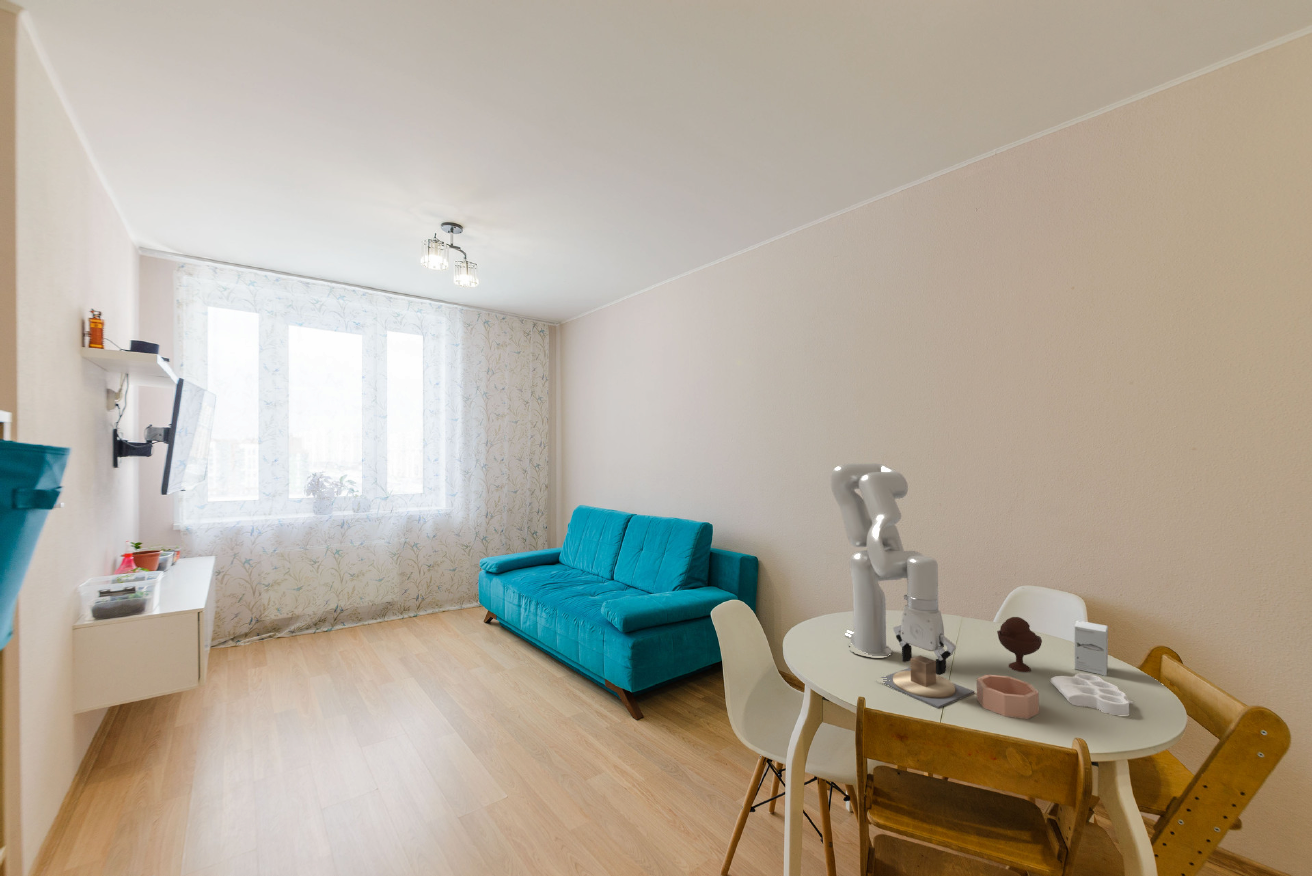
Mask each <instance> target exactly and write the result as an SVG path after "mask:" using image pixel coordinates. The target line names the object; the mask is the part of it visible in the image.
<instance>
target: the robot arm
mask: <svg viewBox="0 0 1312 876" xmlns="http://www.w3.org/2000/svg"><path fill="white" fill-rule="evenodd" d="M830 488H831V492H832V495H833V496H834V499H835V501H836V503H837V505H838V506H839V507H838V508H839V510H840V513H841V517H842V521H843V525H844V529H845V533H846V536H847V539H848V541H849V544H850V545H851V546H852V547H855V548H866V550H859V551H856V552H854V553H853V554H852V555H851V556H850V558H849V570H850V575H851V581H852V597H853V598H852V599H853V600H852V601H853V607H852V608H853V630H851V629H848V630H847V631H846V632H845V634H844V637H845V638H846V639H847V638H848V639H850V643H851V644H853V645H854V647H855V648H857V649H858V650H861V651H862V652H866V653H868V655H872V656H888V655H889V654H891V653H893V652H892V651H893V650H892V649H891V647H889V646H888V645H887V618H886V617H887V613H886V612H887V611H886V610H887V607H886V604H887V603H886V600H887V599H886V594H885V591H884V590H883V589H882V587H881V586H880V584H879V582H887V581H898V580H902V579H906V592H907V593H906V594H904V595H903V598H904V600H906V604H905V605H904V606H903V610H902V616H901V625H897V626H893V628H892V629H893V632H894V634H895V637H896V640H897V641H898V642H899V646H900V647H901V657H902V663H907V662H911V658H913V657H912V655H913V653H912V651H913V649H912V647H913V646H914V647H917V648H919V649H923V650H926V651H929V652H933V653H934V654H935V656H936V659H935V661H936V675H938V676H941V675H944V674H945V673H946V672H947V659H948V658H950V657H951V656H952V655H953V654H954V652H955V650H956V648H957V646H956V644H955V643H953V642H952V641H951V640H950V639H949V638H947V637H946V636H945V627H944V620H943V616H942V612H941V610H939V567H938V561H937V559H935V558H934V557H931V556H930V557H929V556H925V555H924V554H922V553H920V552H918V551H915V550H904V546H903V544H902V540H901V537H900V533H899V530H898V528H897V526H896V524H897V523H899V522H900V520H901V519H902V513H901V511H900V508H899V505H898V504H897V500H896V499H899V500H900V499H903V498H905V497H906V496H907V494H908V490H909V485H908V482H907V479H906V478H905V477H904V475H903V474H902V473H900V471H897V470H895V469H893V468H891V467H888V466H886V465H884V464H880V463H844V464H838V466H835V467H834V468H833V469H832V471H831V474H830ZM855 490H859V492H860V493H861V495H860V494H859V493H858V492H856V491H855ZM945 646H946V650H945ZM866 653H864V654H866ZM891 655H892V654H891Z"/></svg>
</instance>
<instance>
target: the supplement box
mask: <svg viewBox="0 0 1312 876" xmlns="http://www.w3.org/2000/svg"><path fill="white" fill-rule="evenodd" d="M1108 632H1109V626H1108V625H1105V624H1099V623H1094V622H1089V621H1088V622H1087V621H1082V620H1076V621H1075V624H1074V633H1073V634H1074V636H1073V637H1074V646H1073V647H1074V670H1077V671H1078V670H1080V671H1083V672H1088V673H1093V674H1096V675H1100V676H1105V677H1106V676H1108V675H1107V673H1108V667H1109V665H1108V663H1109V662H1108V661H1109V660H1108V659H1109V649H1108V648H1109V641H1108V640H1109V639H1108V638H1109V633H1108Z"/></svg>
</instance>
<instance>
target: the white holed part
mask: <svg viewBox="0 0 1312 876" xmlns="http://www.w3.org/2000/svg"><path fill="white" fill-rule="evenodd" d="M1050 683H1051V684H1052V685H1053V686H1054V687H1055V688H1056V689H1057V690H1058V692H1059V693H1060V694H1061V695H1062V696H1063V697H1064V698H1065V699H1066V701H1067V702H1069V704H1071V705H1073V706H1078V707H1083V706H1084V707H1085V706H1088V707H1087V708H1092V709H1095V708H1097V709H1096V710H1098V709H1099V710H1098V711H1100V710H1101V711H1100V712H1102V711H1103V712H1102V713H1104V712H1105V714H1107V713H1110V714H1113V715H1112V716H1114V715H1128V714H1129V715H1130V704H1134V703H1135V702H1134V701H1132V700H1131V699H1128V698H1127V694H1126V693H1125V692H1123V691H1121V690H1119V687H1118V686H1117V685H1115V684H1113V683H1111V682H1108V681H1106V680H1103V679H1102V677H1100V676H1098V675H1095V674H1089V673H1083V672H1081V673H1076V674H1075V675H1073V676H1068V675H1058V676H1057V675H1055V676H1053V677H1051V678H1050ZM1110 714H1109V715H1110Z"/></svg>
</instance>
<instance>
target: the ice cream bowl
mask: <svg viewBox="0 0 1312 876" xmlns="http://www.w3.org/2000/svg"><path fill="white" fill-rule="evenodd" d="M996 632H997V637H998V641H999V642H1000V644H1001V645H1002V646H1003V647H1004V649H1005V650H1007V651H1008V652H1010V653H1013V654H1014V655H1015V661H1014V662H1009V663H1008V666H1007V667H1008V668H1009V669H1011V670H1013V671H1016V672H1019V673H1029V672H1031V671H1032V670H1031V667H1030V666H1029V665H1028V664H1026V663H1024V656H1028V655H1031V654H1034V653H1036V652H1038V651H1039V650H1040V648H1041V647H1042V643H1043V640H1042V637H1041V636H1039V635H1038V634H1036V633H1035V632H1034V631H1032V630H1031V626H1030V623H1029V621H1027V620H1025V619H1024V618H1022V617H1019V616H1012V617H1010V618H1008V619H1006V620H1005V621H1004V622H1003V623H1002V624H1001V625H1000V630H997V631H996Z"/></svg>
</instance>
